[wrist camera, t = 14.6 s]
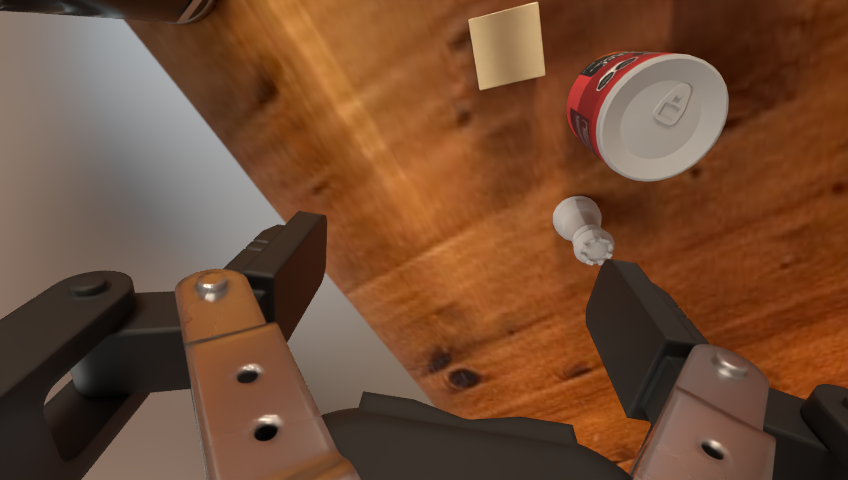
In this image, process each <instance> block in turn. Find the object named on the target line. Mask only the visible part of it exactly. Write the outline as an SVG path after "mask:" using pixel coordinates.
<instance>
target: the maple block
mask: <svg viewBox="0 0 848 480" xmlns="http://www.w3.org/2000/svg"><path fill="white" fill-rule="evenodd" d="M468 21H469V28H470V34H471V40H472V46H473V53H474V59H475V65H476V71H477V77H478V83H479V89H480V90H484V89H488V88H493V87H497V86H502V85H506V84H510V83H515V82H519V81H523V80H528V79H532V78H537V77H541V76H545V64H544V54H543V45H542V35H541V25H540V15H539V5H538V2H534V3H530V4H526V5H522V6H519V7H515V8H511V9H507V10H503V11H499V12H496V13H492V14H488V15H484V16H480V17H477V18H473V19H469V20H468Z"/></svg>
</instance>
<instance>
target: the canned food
mask: <svg viewBox="0 0 848 480" xmlns="http://www.w3.org/2000/svg"><path fill="white" fill-rule="evenodd" d="M728 101H729V97H728V92H727V87H726V84H725V82H724V80H723V78H722V76H721V75H720V73H719V72H718V71H717V70H716V69H715V68H714V67H713V66H712V65H710V64H709V63H707V62H706V61H704V60H702V59H699V58H696V57H693V56H691V55H685V54H676V53H661V52H635V51H620V52H613V53H610V54H607V55H604V56H602V57H600V58H598V59H597V60H595V61H594V62H592V63H591V64H590V65H588V66H587V67H586V68H585V69H584V70H583V71H582V72H581V74H580V75H579V76H578V78H577V79H576V81H575V82H574V84H573V86H572V88H571V90H570V93H569V97H568V101H567V111H566V112H567V119H568V123H569V126H570V128H571V130H572V131H573V133H574V135H575V136H576V137H577V138H578V139H579V140H580V141H581V142H583V143H584V144H585V145H586V146H587V147H588V148H589V149H590V150H591V151H592V152H593V153H594V154H596V155H597V156H598V157H599V158H600V159H601V160H602V161H603V162H604V163H605V164H606V165H607V166H609V167H610V168H611V169H612V170H614V171H615V172H617V173H619V174H620V175H622V176H625V177H627V178H630V179H633V180H638V181H646V182H647V181H659V180H663V179H667V178H670V177H673V176H675V175H677V174H680V173H682V172H684V171H685V170H687V169H689V168H690V167H692V166H693V165H695V164H696V163H697V162H698V161H699V160H700V159H702V158H703V157H704V156H705V155H706V154H707V152H708V151H709V150H710V149H711V148H712V147H713V145H714V144H715V142H716V141H717V139H718V137H719V136H720V134H721V132H722V129H723V127H724V125H725V122H726V118H727V113H728Z"/></svg>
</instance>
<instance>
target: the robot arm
mask: <svg viewBox="0 0 848 480" xmlns="http://www.w3.org/2000/svg"><path fill="white" fill-rule="evenodd" d="M216 1H217V0H0V11H11V12H30V13H45V14H59V15H73V16H88V17H101V18H116V19H130V20H143V21H155V22H163V23H168V24H190V23H193V22H196V21H198V20H200V19H202V18H203V17H204V16H206V15H207V14H208V13H209V12H210V10H211V9H212V8H213V6H214V5H215V3H216ZM326 243H327V218H326V216H325V215H322V214H315V213H309V212H302V211H298V212H297V213H296V214H295V215H294V216H293V217H292V218H291V219H290V220H289V221H288V223H287V224H286V225H276V226H273V227H271V228H269V229H266V230H264V231H262V232H261V233H260V234H259V235H258V236H257V237H256V238H255V239H254V241H253V242H251V243H250V244H249V245H248V246H247V247H246V249H243V250H242V251H241V252H240V253H239V254H238V255H237V256H236V257H235V258H234V259H233V260H232V261H231V262H230V263H229V264H228V265H227V266H226V267H225V268H223V269H212V270H205V271H200V272H197V273H194V274H192V275H189V276H188V277H186V278H184V279H182V280H181V281H180V282H179V283H178V284H177V286H176V288H175V291H172V292H149V293H135V291H134V286H133V281H132V279H131V277H129V276H128V275H126V274H124V273H121V272H116V271H94V272H88V273H83V274H79V275H75V276H72V277H69V278H67V279H64V280H63V281H60V282H58V283H56V284H55V285H53V286H51V287H50V288H48V289H47V290H45V291H44V292H42V293H41V294H39V295H38V296H36V297H35V298H33V299H31V300H30V301H28V302H27V303H25V304H24V305H22V306H21V307H19V308H18V309H16V310H15V311H13V312H11V313H10V314H8V315H7V316H5V317H4V318H2V319H1V320H0V480H81V479H82V478H83V477H84V475H85V474H86V473H87V472H88V471H89V469H90V468H91V467H92V466H93V464H94V463H95V462H96V461H97V459H98V458H99V457H100V456H101V454H102V453H103V452H104V451H105V449H106V448H107V447H108V445H109V444H110V443H111V442H112V440H113V439H114V438H115V437H116V435H117V434H118V433H119V432H120V430H121V429H122V428H123V426H124V425H125V424H126V423H127V422H128V420H129V419H130V418H131V417H132V415H133V414H134V413H135V412H136V410H137V409H138V408H139V407H140V405H141V404H142V403H143V401H144V400H145V399H146V398H147V397H148V395H149V394H150V393H151V392H161V391H172V390H182V389H191V395H192V400H193V406H194V411H195V418H196V423H197V429H198V435H199V440H200V446H201V451H202V457H203V463H204V468H205V475H206V480H848V389H846V388H843V387H840V386H836V385H830V384H821V385H818V386H816V388H815V389H814V390H813V392H812V393H811V394H810V396H809V397H808V398H807V400H804V399H801V398H798V397H795V396H793V395H790V394H787V393H784V392H781V391H778V390H775V389H772V388H769V382H768V379H767V378H766V376H765V375H764V373H763V372H762V371H761V370H760V369H759V368H758V367H757V366H755V365H754V364H753V363H752V362H750V361H749V360H747V359H746V358H744V357H742V356H740V355H738V354H736V353H734V352H732V351H730V350H728V349H725V348H722V347H719V346H715V345H710V344H709V343H708V342H707V340H706V339H705V338H704V337H703V335H702V334H701V333H700V332H699V331H698V329H697V328H696V327H695V326H694V324H693V323H692V322H691V321H690V320H689V318H686V315H685V314H684V312H683V311H682V310H681V309H680V308H678V305H677V304H676V303H675V301H674V300H673V299H672V298H671V296H670V295H669V294H668V293H666V292H665V291H664V290H662V289H661V288H659V287H658V286H657V285H655V284H654V283H652V282H651V281H650V280H649V278H648V277H647V276H646V275H645V273H644V272H643V271H642V270H641V268H640V267H639V266H638V265H637V264H636V263H632V262H626V261H619V260H612V259H607V260H605V261H604V263H603V264H602V266H601V269H600V271H599V274H598V277H597V280H596V282H595V285H594V288H593V290H592V293H591V296H590V298H589V301H588V304H587V308H586V325H587V328H588V330H589V332H590V334H591V337H592V339H593V341H594V343H595V346H596V348H597V350H598V352H599V355H600V357H601V359H602V362H603V364H604V366H605V368H606V371H607V373H608V375H609V377H610V380H611V382H612V384H613V386H614V389H615V391H616V393H617V396H618V398H619V400H620V402H621V405H622V407H623V409H624V411H625V414H626V416H627V418H632V419H639V420H645V421H650V423H651V427H650V429H649V431H648V432H647V434H646V436H645V438H644V440H643V442H642V444H641V447H640V449H639V451H638V453H637V455H636V457H635V459H634V461H633V463H632V465H631V467H630V469H629V471H628V473H626V472H625V471H624V470H623V469H622V468H620V467H619V466H617V465H616V464H615V463H613V462H612V461H610V460H609V459H607V458H605V457H604V456H602V455H600V454H599V453H597V452H595V451H593V450H591V449H589V448H587V447H585V446H583V445H580V444H578V443H577V439H576V436H575V432H574V429H573V425H570V424H563V423H557V422H551V421H545V420H538V419H532V418H526V417H507V418H491V419H475V420H469V419H464V418H461V417H458V416H456V415H453V414H450V413H448V412H445V411H443V410H440V409H437V408H435V407H432V406H429V405H427V404H424V403H422V402H419V401H416V400H413V399H407V398H401V397H395V396H388V395H382V394H376V393H370V392H363V394H362V397H361V401H360V404H359V408H352V409H351V408H350V409H344V410H338V411H335V412H331V413H327V414H324V415H320V413H319V410H318V408H317V406H316V404H315V402H314V400H313V398H312V396H311V393H310V391H309V389H308V387H307V385H306V383H305V381H304V379H303V376H302V374H301V372H300V370H299V368H298V366H297V364H296V362H295V360H294V358H293V355H292V353H291V351H290V349H289V347H288V345H287V342H288V340H289V338H290V337H291V335H292V333H293V331H294V330H295V328H296V326H297V324H298V323H299V321H300V319H301V318H302V316H303V314H304V312H305V311H306V309H307V307H308V306H309V304H310V302H311V300H312V298H313V297H314V295H315V293H316V292H317V290H318V288H319V287H320V285H321V283H322V280H323V277H324V273H325V268H326ZM68 371H70V373H71V376H72V380H71V381H70V382H69V383H68V384H67V385H66V386H65V387H64V388H62V390H60V391H59V392H58V393H57V394H56V395H55V396H54V397H53V398H52V399H51V400H50V401H49V402H48V403H46V405H44V402H45V399H46V397H47V395H48V393H49V391H50V390H51V388H52V387H53V386H54V385H55V384H56V382H58V381H59V380H60V379H61V378H62V377H63V376H64V375H65V374H66V373H67V372H68Z"/></svg>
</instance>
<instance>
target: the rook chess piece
mask: <svg viewBox="0 0 848 480" xmlns="http://www.w3.org/2000/svg"><path fill="white" fill-rule="evenodd" d="M601 220H602V215H601V212H600V210H599V208H598V206H597V204H596V203H595V202H594V201H593V200H592V199H590V198H587V197H584V196H572V197H570V198H568V199H565V200H563V201H562V202H561V203H560V204H559V205H558V206H557V207H556V209H555V212H554V214H553V224H554V227H555V229H556V230H557V231H558V233H559V234H560V235H561V236H562V237H563V238H564V239H567V240H570V241H573V245H574V253H575V256H576V258H578V259H579V260H580V261H581V262H584V263H587V264H589V265H592V266H593V264H597V263H598V265H602V264H603V263H604V261H605V260H606V259H607V258H608V259H610V258H611V257H612V255H613V254H612V252H613V250H614V240H613V237H612V236H611V235H610V234H609V233H608V232H606V231H604V230H603V229H602V228H601V227H600V226H601Z"/></svg>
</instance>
